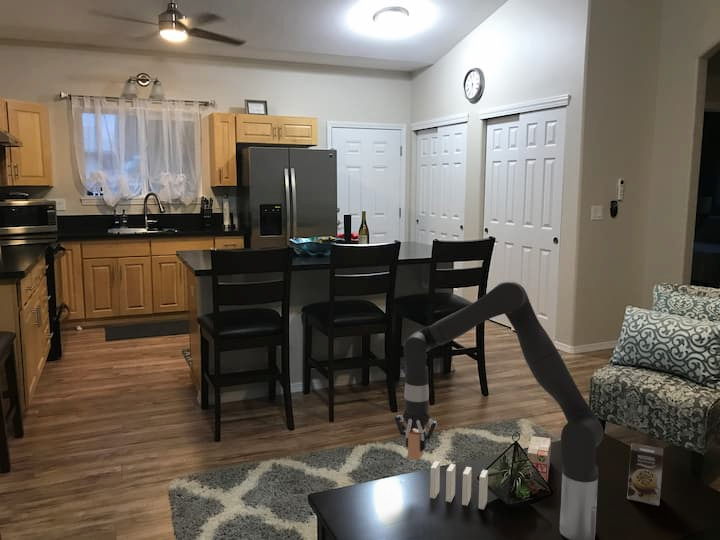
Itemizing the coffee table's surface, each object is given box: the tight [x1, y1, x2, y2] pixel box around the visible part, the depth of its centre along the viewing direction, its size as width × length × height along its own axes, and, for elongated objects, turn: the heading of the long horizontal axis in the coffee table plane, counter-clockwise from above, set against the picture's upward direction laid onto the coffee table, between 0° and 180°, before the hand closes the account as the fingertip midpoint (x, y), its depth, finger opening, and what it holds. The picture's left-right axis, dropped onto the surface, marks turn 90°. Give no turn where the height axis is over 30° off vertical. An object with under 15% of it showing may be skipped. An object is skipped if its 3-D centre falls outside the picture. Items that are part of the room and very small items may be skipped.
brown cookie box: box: [626, 442, 665, 507], centre depth 180 cm, size 9×6×16 cm
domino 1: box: [407, 428, 424, 461], centre depth 183 cm, size 4×5×8 cm
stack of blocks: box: [526, 435, 552, 483], centre depth 195 cm, size 21×6×12 cm, turn 159°
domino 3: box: [445, 463, 457, 503], centre depth 179 cm, size 2×5×10 cm, turn 157°
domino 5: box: [478, 469, 489, 510], centre depth 176 cm, size 2×5×10 cm, turn 157°
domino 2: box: [429, 460, 441, 500], centre depth 181 cm, size 2×5×10 cm, turn 157°
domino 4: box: [461, 466, 473, 507], centre depth 178 cm, size 2×5×10 cm, turn 157°
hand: (415, 449), depth 183 cm, fingers closed on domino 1, 3 cm apart
